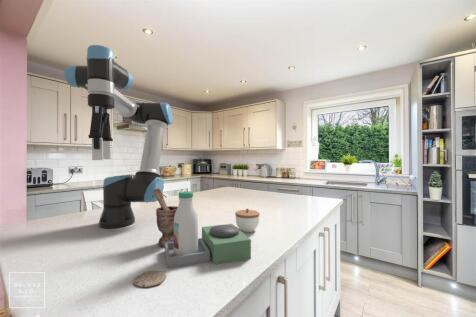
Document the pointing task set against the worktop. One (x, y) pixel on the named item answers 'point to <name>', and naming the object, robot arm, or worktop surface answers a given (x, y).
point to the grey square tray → (187, 259)
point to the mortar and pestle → (165, 219)
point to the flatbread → (149, 279)
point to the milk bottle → (185, 226)
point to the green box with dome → (226, 243)
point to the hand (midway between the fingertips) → (102, 159)
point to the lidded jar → (247, 220)
